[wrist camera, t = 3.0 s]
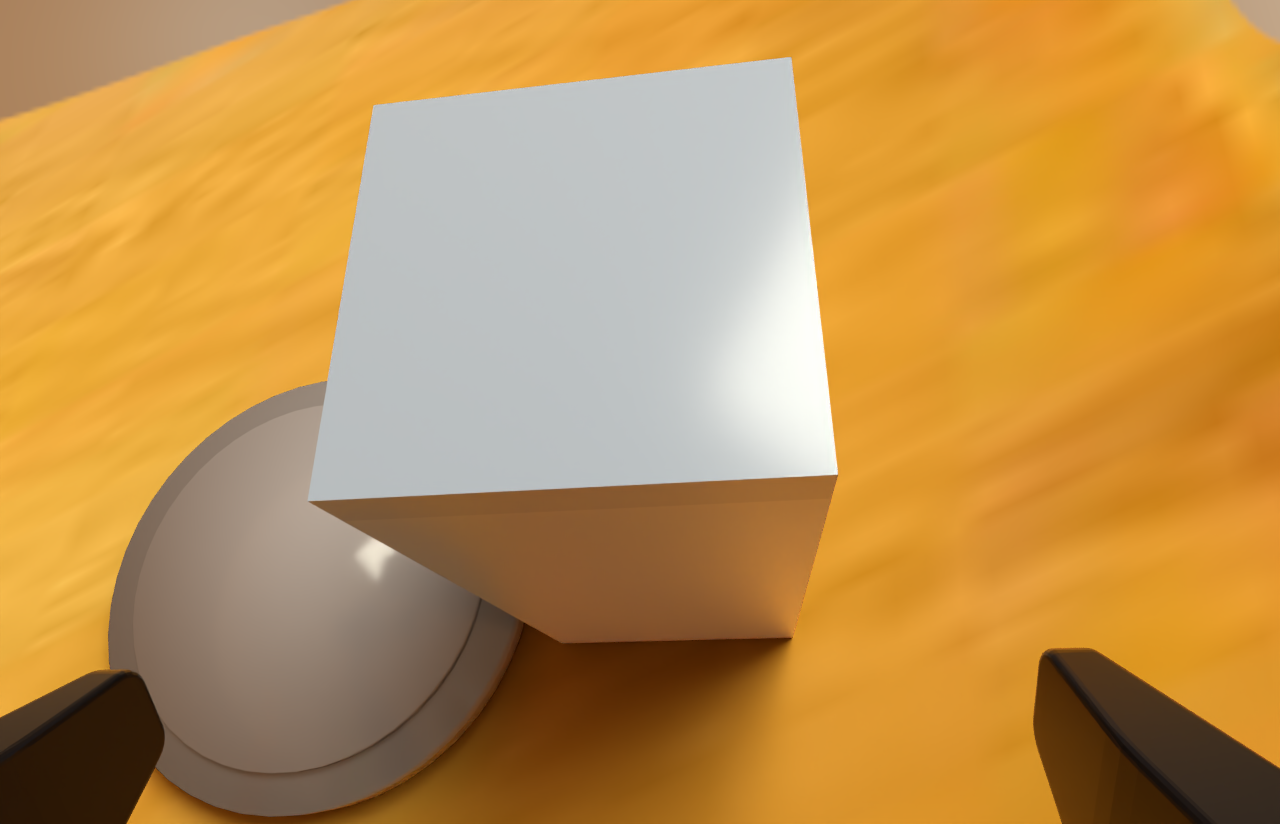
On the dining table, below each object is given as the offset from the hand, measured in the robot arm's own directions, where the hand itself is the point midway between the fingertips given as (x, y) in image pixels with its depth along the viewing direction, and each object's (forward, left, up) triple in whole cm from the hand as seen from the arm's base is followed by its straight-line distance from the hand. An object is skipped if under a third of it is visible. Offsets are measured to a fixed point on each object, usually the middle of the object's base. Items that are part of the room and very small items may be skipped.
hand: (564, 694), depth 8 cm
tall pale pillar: (+2, +4, -12) cm, 13 cm away
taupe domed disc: (-6, +8, -11) cm, 15 cm away
